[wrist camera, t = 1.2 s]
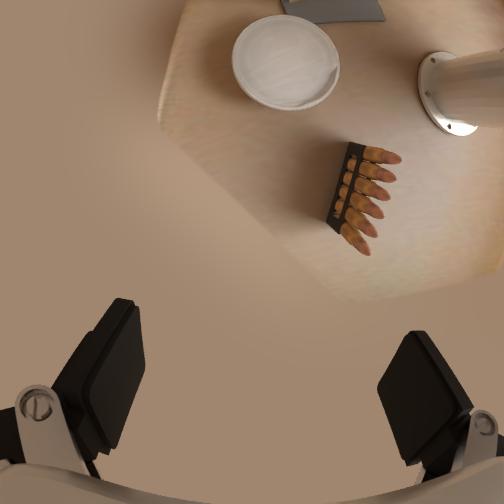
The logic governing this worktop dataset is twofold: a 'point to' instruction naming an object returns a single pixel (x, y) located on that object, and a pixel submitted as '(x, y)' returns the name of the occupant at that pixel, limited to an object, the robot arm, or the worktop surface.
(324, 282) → the worktop surface
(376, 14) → the mat
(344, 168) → the ammunition clip
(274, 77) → the ramekin
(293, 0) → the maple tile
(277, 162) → the worktop surface
